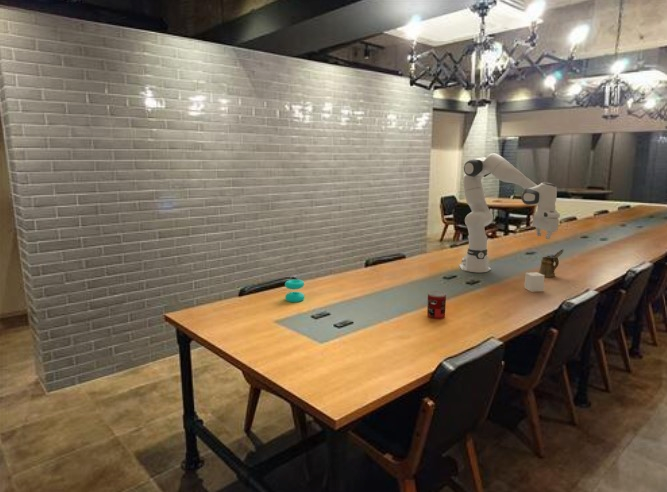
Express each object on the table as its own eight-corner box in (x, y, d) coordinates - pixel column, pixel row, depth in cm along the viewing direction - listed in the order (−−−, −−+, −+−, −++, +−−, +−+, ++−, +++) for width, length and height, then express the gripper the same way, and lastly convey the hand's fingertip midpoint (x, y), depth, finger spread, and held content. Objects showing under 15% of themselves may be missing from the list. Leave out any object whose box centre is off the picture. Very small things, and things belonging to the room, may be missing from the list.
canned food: (425, 313, 205) (425, 291, 203) (441, 313, 206) (442, 290, 204) (430, 319, 198) (430, 296, 196) (447, 318, 199) (448, 295, 196)
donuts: (292, 277, 234) (307, 280, 228) (293, 295, 236) (308, 298, 230) (280, 282, 225) (296, 284, 220) (281, 300, 227) (296, 304, 222)
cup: (524, 288, 245) (525, 272, 243) (536, 287, 245) (537, 272, 244) (530, 291, 238) (532, 275, 236) (543, 291, 239) (544, 275, 237)
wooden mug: (556, 279, 261) (559, 250, 258) (535, 275, 272) (537, 246, 269) (564, 277, 266) (567, 248, 263) (543, 273, 277) (545, 245, 274)
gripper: (530, 210, 251) (528, 234, 253) (550, 215, 231) (547, 240, 233) (541, 210, 251) (539, 234, 254) (561, 215, 231) (559, 240, 234)
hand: (543, 237), depth 243 cm, fingers open, 8 cm apart
